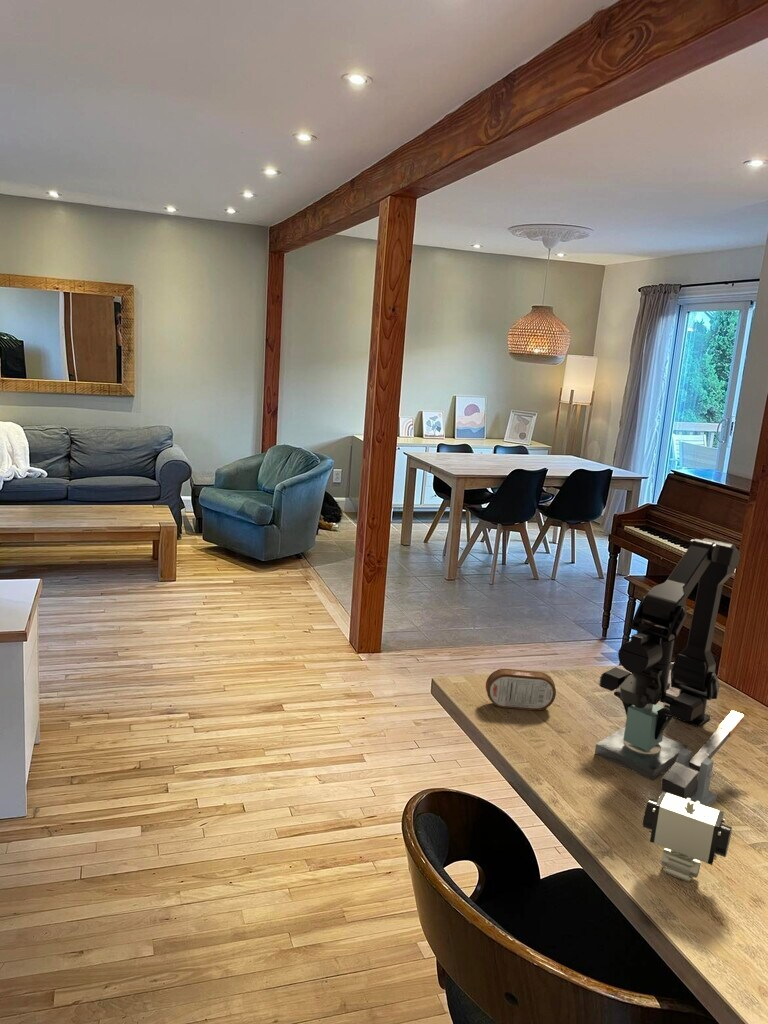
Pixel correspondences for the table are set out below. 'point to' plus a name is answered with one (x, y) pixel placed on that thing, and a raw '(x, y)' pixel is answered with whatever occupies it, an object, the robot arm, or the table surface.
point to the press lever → (699, 760)
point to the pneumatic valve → (686, 833)
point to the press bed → (640, 754)
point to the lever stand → (700, 778)
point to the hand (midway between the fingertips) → (643, 733)
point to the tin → (520, 689)
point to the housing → (642, 726)
